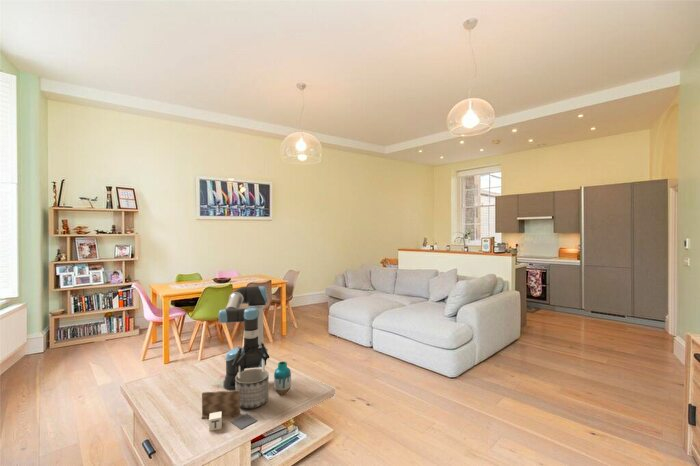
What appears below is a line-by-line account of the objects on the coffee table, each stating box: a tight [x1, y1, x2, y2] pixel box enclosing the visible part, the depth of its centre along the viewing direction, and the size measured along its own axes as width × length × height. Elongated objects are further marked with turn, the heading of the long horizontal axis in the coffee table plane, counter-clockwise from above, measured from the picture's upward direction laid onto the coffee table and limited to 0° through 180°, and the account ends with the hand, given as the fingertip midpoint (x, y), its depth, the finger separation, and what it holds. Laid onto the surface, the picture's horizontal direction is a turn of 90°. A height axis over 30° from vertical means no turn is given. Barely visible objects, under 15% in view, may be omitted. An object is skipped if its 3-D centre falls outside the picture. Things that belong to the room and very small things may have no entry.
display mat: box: [230, 413, 258, 430], centre depth 178 cm, size 10×10×1 cm
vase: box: [273, 360, 292, 395], centre depth 209 cm, size 11×11×19 cm
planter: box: [235, 368, 270, 409], centre depth 197 cm, size 19×19×16 cm
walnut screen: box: [201, 390, 241, 420], centre depth 185 cm, size 20×6×13 cm, turn 97°
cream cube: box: [208, 411, 223, 432], centre depth 174 cm, size 6×6×6 cm
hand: (251, 374), depth 183 cm, fingers open, 13 cm apart
